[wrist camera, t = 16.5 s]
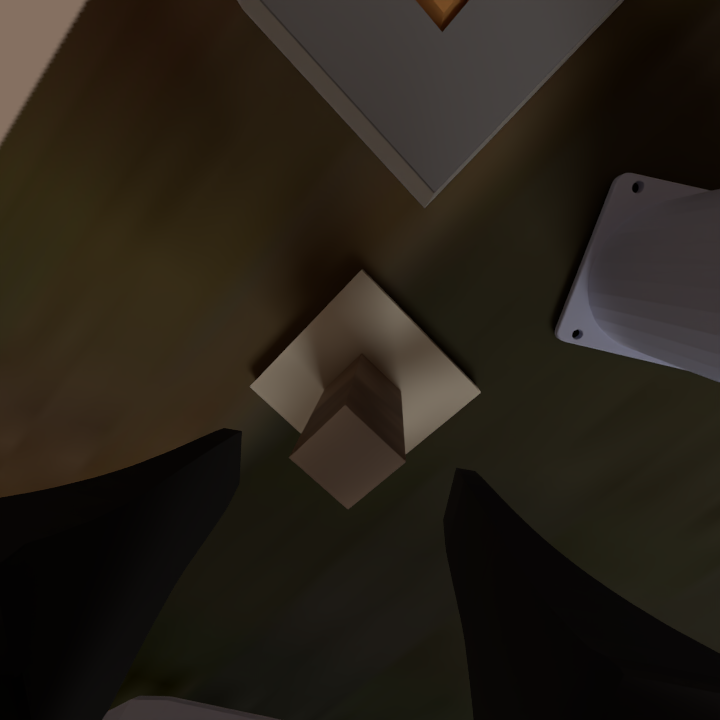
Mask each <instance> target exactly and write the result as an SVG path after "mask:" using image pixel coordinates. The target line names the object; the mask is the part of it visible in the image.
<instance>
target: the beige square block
mask: <svg viewBox="0 0 720 720" xmlns="http://www.w3.org/2000/svg"><path fill="white" fill-rule="evenodd" d="M361 353H362V354H363V355H364V356H365V357H366V358H367V359H368V360H369V361H370V362H371V363H372V364H374V365H375V366H376V367H377V368H378V369H379V370H380V371H381V372H382V373H383V374H384V375H385V376H386V377H387V378H388V379H389V380H390V381H391V382H392V383H393V384H394V385H395V386H396V387H397V388H398V389H399V390H400V391H401V396H402V411H403V425H404V440H405V454H407V453H408V452H409V451H410V450H411V449H413V448H414V447H415V446H416V445H418V444H419V443H420V442H421V441H422V440H424V439H425V438H426V437H427V436H429V435H430V434H431V433H432V432H433V431H435V430H436V429H437V428H438V427H439V426H441V425H442V424H443V423H444V422H446V421H447V420H448V419H449V418H450V417H452V416H453V415H454V414H455V413H457V412H458V411H459V410H460V409H461V408H463V407H464V406H465V405H466V404H468V403H469V402H470V401H471V400H472V399H474V398H475V397H476V396H477V395H478V394H480V393H481V391H480V390H479V388H478V387H477V386H476V385H475V383H474V382H473V381H472V380H471V379H470V378H469V377H468V376H467V375H466V374H465V373H464V372H463V371H462V370H461V369H460V368H459V367H458V366H457V365H456V364H455V363H454V362H453V361H452V360H451V359H450V358H449V357H448V356H447V355H446V354H445V353H444V352H443V351H442V350H441V349H440V348H439V347H438V346H437V345H436V343H435V342H434V341H433V340H432V339H431V338H430V337H429V336H428V335H427V334H426V333H425V332H424V331H423V330H422V329H421V328H420V327H419V326H418V325H417V324H416V323H415V322H414V321H413V320H412V319H411V318H410V317H409V316H408V315H407V314H406V313H405V312H404V311H403V310H402V309H401V308H400V307H399V306H398V305H397V303H396V302H395V301H394V300H393V299H392V298H391V297H390V296H389V295H388V294H387V293H386V292H385V291H384V290H383V289H382V288H381V287H380V286H379V285H378V284H377V283H376V282H375V281H374V280H373V279H372V278H371V277H370V276H369V275H368V274H367V273H366V272H365V271H364V270H363V269H362V270H361V271H360V272H359V273H358V274H357V275H356V276H355V277H354V278H353V279H352V280H351V281H350V282H349V283H348V284H347V285H346V286H345V288H344V289H343V290H342V291H341V292H340V293H339V294H338V295H337V296H336V297H335V298H334V299H333V300H332V301H331V302H330V303H329V304H328V305H327V306H326V307H325V308H324V309H323V310H322V312H321V313H320V314H319V315H318V316H317V317H316V318H315V319H314V320H313V321H312V322H311V323H310V324H309V325H308V326H307V327H306V328H305V329H304V330H303V331H302V332H301V333H300V335H299V336H298V337H297V338H296V339H295V340H294V341H293V342H292V343H291V344H290V345H289V346H288V347H287V348H286V349H285V350H284V351H283V352H282V353H281V354H280V355H279V356H278V358H277V359H276V360H275V361H274V362H273V363H272V364H271V365H270V366H269V367H268V368H267V369H266V370H265V371H264V372H263V373H262V374H261V375H260V376H259V377H258V378H257V379H256V381H255V382H254V383H253V384H252V385H251V386H250V388H252V389H253V390H254V391H255V392H256V393H257V394H258V395H259V396H260V397H261V398H263V399H264V400H265V401H266V402H267V403H268V404H269V405H270V406H271V407H272V408H274V409H275V410H276V411H277V412H278V413H279V414H280V415H281V416H282V417H283V418H285V419H286V420H287V421H288V422H289V423H290V424H291V425H292V426H293V427H294V428H296V429H297V430H298V431H299V432H300V433H301V434H302V432H303V430H304V428H305V426H306V424H307V422H308V420H309V418H310V416H311V414H312V412H313V410H314V409H315V407H316V405H317V403H318V401H319V399H320V397H321V395H322V393H323V391H324V390H325V389H326V388H327V387H328V386H329V385H330V384H331V383H332V382H333V381H334V380H335V379H336V378H337V377H338V376H339V375H340V374H341V373H342V372H343V371H344V370H345V369H346V368H347V367H348V366H349V365H350V364H351V363H352V362H353V361H354V360H355V359H356V358H357V357H358V356H359V355H360V354H361Z"/></svg>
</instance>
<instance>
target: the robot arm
mask: <svg viewBox="0 0 720 720" xmlns="http://www.w3.org/2000/svg"><path fill="white" fill-rule="evenodd" d="M634 183H637V184H638V186H639V188H638V191H637V192H636V193H634V192H633V191H632V185H633V184H634ZM577 329H578V330H579V335H578V336H577V337H575V338H573V337H572V333H573V332H574V331H575V330H577ZM555 336H556V337H557V338H558V339H560V340H562V341H564V342H569V343H573V344H577V345H581V346H586V347H590V348H594V349H598V350H603V351H607V352H611V353H615V354H620V355H624V356H628V357H632V358H637V359H641V360H645V361H649V362H654V363H658V364H662V365H666V366H671V367H675V368H679V369H683V370H688V371H691V372H693V373H696V374H699V375H701V376H704V377H707V378H709V379H712V380H714V381H717V382H720V189H717V190H712V191H710V190H706V189H701V188H697V187H692V186H688V185H683V184H679V183H674V182H670V181H665V180H661V179H657V178H652V177H648V176H643V175H639V174H634V173H625V174H622V175H620V176H618V177H617V178H615V179H614V181H613V182H612V184H611V187H610V190H609V192H608V195H607V197H606V200H605V202H604V205H603V207H602V210H601V213H600V215H599V218H598V220H597V223H596V225H595V228H594V230H593V233H592V236H591V238H590V241H589V243H588V246H587V248H586V251H585V254H584V256H583V259H582V261H581V264H580V266H579V269H578V271H577V274H576V277H575V279H574V282H573V284H572V287H571V289H570V292H569V295H568V297H567V300H566V302H565V305H564V307H563V310H562V312H561V315H560V318H559V320H558V323H557V325H556V328H555ZM241 436H242V431H238V430H232V429H226V428H223V429H220V430H218V431H215V432H213V433H210V434H208V435H206V436H203V437H201V438H199V439H197V440H194V441H192V442H190V443H188V444H185V445H183V446H181V447H178V448H176V449H174V450H172V451H169V452H167V453H164V454H162V455H159V456H156V457H154V458H151V459H149V460H146V461H144V462H141V463H139V464H136V465H133V466H130V467H127V468H124V469H121V470H118V471H115V472H112V473H108V474H105V475H102V476H98V477H95V478H91V479H87V480H83V481H79V482H75V483H71V484H67V485H63V486H59V487H55V488H50V489H45V490H40V491H35V492H30V493H25V494H19V495H13V496H8V497H2V498H0V720H280V719H275V718H270V717H265V716H261V715H256V714H251V713H246V712H242V711H237V710H232V709H227V708H223V707H218V706H213V705H208V704H204V703H199V702H194V701H189V700H185V699H180V698H175V697H169V696H138V697H136V698H133V699H131V700H129V701H127V702H125V703H123V704H121V705H119V706H117V707H116V708H114V709H112V710H110V711H108V710H109V708H110V706H111V704H112V702H113V700H114V698H115V696H116V694H117V692H118V690H119V688H120V686H121V684H122V682H123V680H124V678H125V676H126V674H127V673H128V671H129V669H130V667H131V665H132V663H133V661H134V659H135V657H136V655H137V653H138V651H139V649H140V647H141V646H142V644H143V642H144V640H145V638H146V636H147V634H148V633H149V631H150V629H151V627H152V625H153V623H154V621H155V619H156V618H157V616H158V614H159V612H160V611H161V609H162V607H163V605H164V603H165V602H166V600H167V598H168V596H169V595H170V593H171V591H172V589H173V587H174V586H175V584H176V582H177V581H178V579H179V578H180V576H181V575H182V573H183V571H184V570H185V568H186V567H187V566H188V564H189V563H190V561H191V560H192V558H193V557H194V555H195V554H196V553H197V551H198V550H199V548H200V547H201V545H202V544H203V542H204V541H205V540H206V538H207V537H208V535H209V534H210V532H211V531H212V529H213V528H214V527H215V525H216V524H217V522H218V521H219V519H220V518H221V516H222V515H223V513H224V512H225V510H226V508H227V507H228V505H229V503H230V501H231V499H232V497H233V495H234V493H235V491H236V489H237V487H238V485H239V479H240V458H241ZM443 521H444V534H445V545H446V553H447V558H448V562H449V567H450V572H451V577H452V581H453V586H454V590H455V595H456V599H457V604H458V609H459V613H460V618H461V622H462V628H463V634H464V639H465V646H466V655H467V663H468V671H469V679H470V688H471V698H472V707H473V716H474V720H720V654H719V653H717V652H716V651H714V650H712V649H710V648H708V647H706V646H705V645H703V644H701V643H699V642H697V641H695V640H693V639H692V638H690V637H688V636H686V635H684V634H682V633H681V632H679V631H677V630H675V629H673V628H671V627H670V626H668V625H666V624H664V623H663V622H661V621H659V620H658V619H656V618H655V617H653V616H651V615H650V614H648V613H646V612H645V611H643V610H641V609H640V608H638V607H636V606H635V605H633V604H632V603H630V602H628V601H627V600H625V599H624V598H622V597H621V596H619V595H618V594H616V593H615V592H613V591H612V590H610V589H609V588H607V587H606V586H604V585H603V584H602V583H600V582H599V581H597V580H596V579H594V578H593V577H591V576H590V575H589V574H587V573H586V572H585V571H583V570H582V569H580V568H579V567H578V566H576V565H575V564H574V563H573V562H571V561H570V560H569V559H568V558H566V557H565V556H564V555H563V554H561V553H560V552H559V551H558V550H556V549H555V548H554V547H553V546H551V545H550V544H549V543H548V542H547V541H546V540H544V539H543V538H542V537H541V536H540V535H539V534H538V533H537V532H536V531H534V530H533V529H532V528H531V527H530V526H529V525H528V524H527V523H526V522H525V521H524V520H523V519H522V518H521V517H520V516H519V515H517V514H516V513H515V512H514V511H513V510H512V509H511V508H510V506H509V505H508V504H507V503H506V502H505V501H504V500H503V499H502V498H501V497H500V496H499V495H498V494H497V493H496V492H495V491H494V490H493V489H492V488H491V487H490V486H489V485H488V484H487V482H486V481H485V480H484V479H483V478H482V477H481V476H480V475H479V474H478V473H477V472H475V471H471V470H465V469H459V468H456V471H455V475H454V479H453V483H452V487H451V491H450V495H449V499H448V503H447V507H446V511H445V515H444V519H443Z"/></svg>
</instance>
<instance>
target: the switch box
mask: <svg viewBox="0 0 720 720" xmlns="http://www.w3.org/2000/svg"><path fill="white" fill-rule="evenodd" d="M237 1H238V3H239V4H240V6H241V8H242V9H243V11H244V12H245V13H246V14H247V15H248V16H249V17H250V18H251V19H252V20H253V21H254V23H255V24H256V25H257V26H258V27H259V28H260V29H261V30H262V31H263V32H264V33H265V35H266V36H267V37H268V38H269V39H270V40H271V41H272V42H273V43H274V44H275V45H276V47H277V48H278V49H279V50H280V51H281V52H282V53H283V54H284V55H285V56H286V58H287V59H288V60H289V61H290V62H291V63H292V64H293V65H294V66H295V67H296V68H297V70H298V71H299V72H300V73H301V74H302V75H303V76H304V77H305V78H306V79H307V80H308V82H309V83H310V84H311V85H312V86H313V87H314V88H315V89H316V90H317V91H318V92H319V94H320V95H321V96H322V97H323V98H324V99H325V100H326V101H327V102H328V103H329V105H330V106H331V107H332V108H333V109H334V110H335V111H336V112H337V113H338V114H339V115H340V117H341V118H342V119H343V120H344V121H345V122H346V123H347V124H348V125H349V126H350V127H351V129H352V130H353V131H354V132H355V133H356V134H357V135H358V136H359V137H360V138H361V139H362V141H363V142H364V143H365V144H366V145H367V146H368V147H369V148H370V149H371V150H372V152H373V153H374V154H375V155H376V156H377V157H378V158H379V159H380V160H381V161H382V162H383V164H384V165H385V166H386V167H387V168H388V169H389V170H390V171H391V172H392V173H393V174H394V176H395V177H396V178H397V179H398V180H399V181H400V182H401V183H402V184H403V185H404V186H405V188H406V189H407V190H408V191H409V192H410V193H411V194H412V195H413V196H414V197H415V199H416V200H417V201H418V202H419V203H420V204H421V205H422V206H423V207H424V208H425V207H426V206H427V205H428V204H429V203H430V202H431V201H432V200H433V199H434V198H435V197H436V196H437V195H438V194H439V193H440V192H441V191H442V190H443V189H444V188H445V186H446V185H447V184H448V183H449V182H450V181H451V180H452V179H453V178H454V177H455V176H456V175H457V174H458V173H459V172H460V171H461V170H462V169H463V168H464V167H465V166H466V165H467V164H468V163H469V162H470V160H471V159H472V158H473V157H474V156H475V155H476V154H477V153H478V152H479V151H480V150H481V149H482V148H483V147H484V146H485V145H486V144H487V143H488V142H489V141H490V140H491V139H492V138H493V137H494V135H495V134H496V133H497V132H498V131H499V130H500V129H501V128H502V127H503V126H504V125H505V124H506V123H507V122H508V121H509V120H510V119H511V118H512V117H513V116H514V115H515V114H516V113H517V112H518V111H519V109H520V108H521V107H522V106H523V105H524V104H525V103H526V102H527V101H528V100H529V99H530V98H531V97H532V96H533V95H534V94H535V93H536V92H537V91H538V90H539V89H540V88H541V87H542V86H543V84H544V83H545V82H546V81H547V80H548V79H549V78H550V77H551V76H552V75H553V74H554V73H555V72H556V71H557V70H558V69H559V68H560V67H561V66H562V65H563V64H564V63H565V62H566V61H567V59H568V58H569V57H570V56H571V55H572V54H573V53H574V52H575V51H576V50H577V49H578V48H579V47H580V46H581V45H582V44H583V43H584V42H585V41H586V40H587V39H588V38H589V37H590V36H591V35H592V33H593V32H594V31H595V30H596V29H597V28H598V27H599V26H600V25H601V24H602V23H603V22H604V21H605V20H606V19H607V18H608V17H609V16H610V15H611V14H612V13H613V12H614V11H615V10H616V8H617V7H618V6H619V5H620V4H621V3H622V2H623V1H624V0H469V1H468V2H467V3H466V5H465V6H464V7H463V8H462V9H461V11H460V12H459V13H458V14H457V15H456V17H455V18H454V19H453V20H452V21H451V22H450V24H449V25H448V26H447V27H446V28H445V30H444V31H443V32H442V31H441V30H440V29H439V28H438V26H437V25H436V24H435V23H434V22H433V20H432V19H431V18H430V17H429V16H428V14H427V13H426V12H425V11H424V10H423V8H422V7H421V6H420V5H419V4H418V2H417V1H416V0H237Z"/></svg>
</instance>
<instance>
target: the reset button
mask: <svg viewBox="0 0 720 720" xmlns="http://www.w3.org/2000/svg"><path fill="white" fill-rule="evenodd" d="M416 1H417V2H418V4H419V5H420V6H421V7H422V8H423V10H424V11H425V12H426V13H427V14H428V16H429V17H430V18H431V19H432V20H433V22H434V23H435V24H436V25H437V26H438V28H439V29H440V30H441V31H442V32H443V31H444V30H445V28H446V27H447V26H448V25H449V24H450V22H451V21H452V20H453V19H454V18H455V17H456V15H457V14H458V13H459V12H460V11H461V9H462V8H463V7H464V6H465V5H466V3H467V2H468V1H469V0H416Z"/></svg>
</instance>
